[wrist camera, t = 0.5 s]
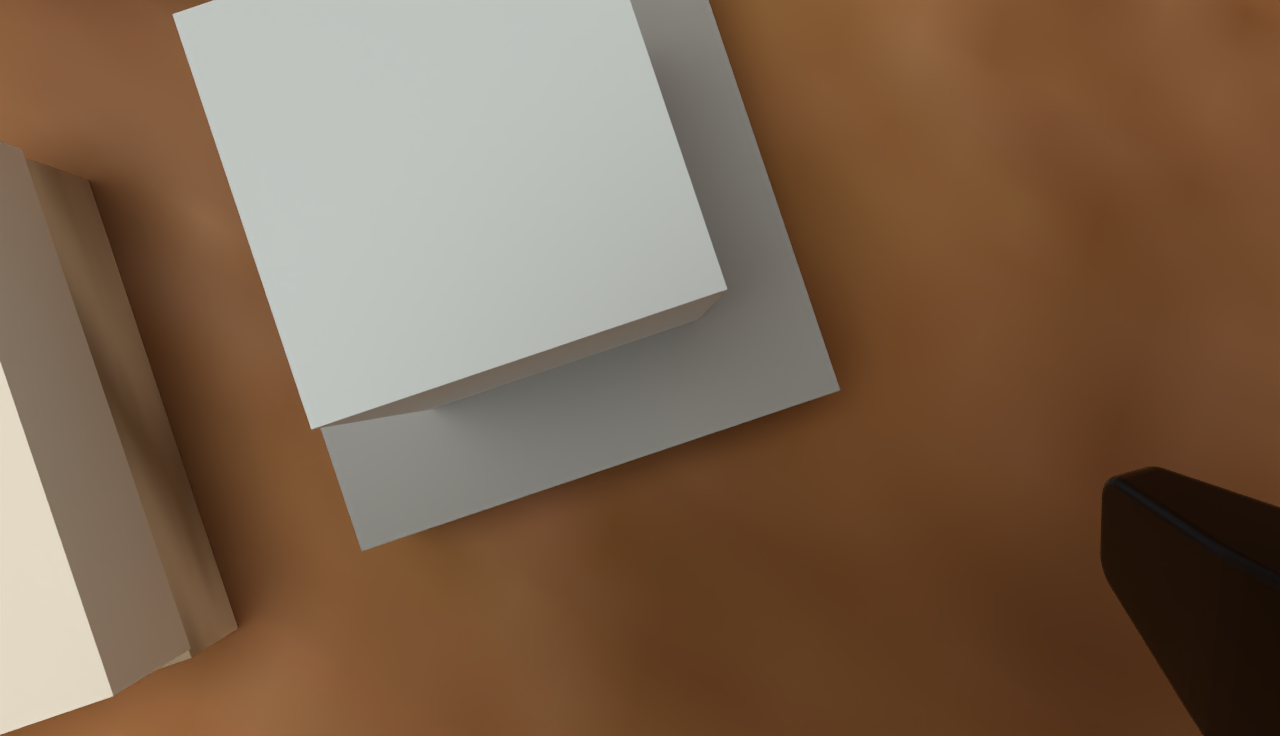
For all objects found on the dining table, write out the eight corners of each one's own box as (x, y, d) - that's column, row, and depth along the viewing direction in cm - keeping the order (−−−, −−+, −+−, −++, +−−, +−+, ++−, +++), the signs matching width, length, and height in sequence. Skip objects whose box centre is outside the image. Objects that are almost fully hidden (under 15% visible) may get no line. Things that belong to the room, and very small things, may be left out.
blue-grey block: (697, 319, 19) (727, 288, 12) (432, 408, 19) (310, 428, 12) (608, 54, 19) (587, -126, 12) (343, 144, 19) (172, 14, 12)
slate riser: (810, 387, 23) (840, 390, 19) (405, 523, 23) (361, 551, 19) (673, -17, 23) (678, -88, 19) (270, 119, 23) (202, 73, 19)
